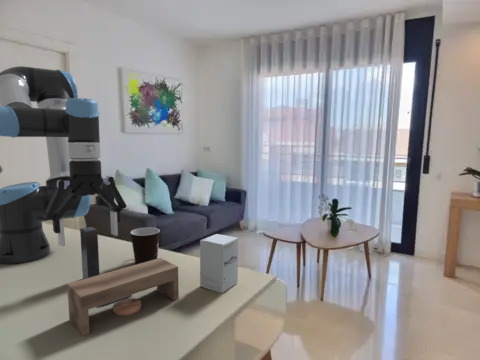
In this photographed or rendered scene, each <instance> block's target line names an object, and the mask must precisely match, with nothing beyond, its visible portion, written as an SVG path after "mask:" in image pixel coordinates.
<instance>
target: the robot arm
mask: <svg viewBox="0 0 480 360" xmlns="http://www.w3.org/2000/svg"><path fill="white" fill-rule="evenodd" d="M78 91H79V90H78V86H77V83H76V79H75V77H74V75H72V73H71V72H69V71H65V70H61V69H48V68H40V67H31V66H21V65H20V66H19V65H18V66H13V67H9V68H6V69H4V70H3V71H0V137H8V138H9V137H10V138H45V141H46V148H47V158H48V165H49V167H48V168H49V177H48V178H47V179H46V180H45V185H41V184H40V182H38V181H29V182H28V181H27V182H21V183H15V184H10V185H7V186H4V187H1V188H0V264H3V265H4V264H6V265H7V264H8V265H9V264H10V265H13V264H21V263H28V262H31V261H32V262H33V261H35V260H38V259H42V258H44V257H46V256H48V255H50V253H51V244H50V243H49V241H48V238H47V236H46V234H45V231H44V230H43V222H49V221H52V231H53V233H55V234H57V238H58V239H57V242H58V245H59V246H61V247H65V246H66V237H65V222H64V219H75V218H78V217H80V218H81V217H84V216H86V215H87V214H88V213H89V211H90V206H91V200H92V199H91V198H92V196H95V195H98V197H99V198H101V199H102V200H103V202H105V203H106V204H107V206H109V207H110V208H111V210H110V211H109V215H110V234H111V235H113V236H115V237H116V236H118V235H119V231H118V229H119V228H118V223H121V212H122V210H123V209H126V208H127V204H126V202H125V200H124V199H123V197H122V195H121V193H120V191H119V189H118V188H117V187H116V184H115V183H116V182H115V179H114V177H113V176H111V175H110V176H109V175H107V176H105V177H103V176H102V162H101V159H100V158H101V156H102V155H101V141H100V140H101V139H100V137H101V136H100V119H99V117H100V112H99V106H98V102H97V101H96V100H95V99H92V98H85V97H84V98H83V97H82V98H81V97H79V94H78V93H79V92H78ZM32 102H34V103H36V105H37V107H34V106H33V104H32ZM103 183H104V185H106V186H107V188H108V190H109V191H110V193H111V195H112V197H113V198H114V200H115V201H114V200H113V199H112V198H111V197H110V196H109V195H108V194H107V193H106V192H105V191H104V190H103V189H102V188H101V187H102V186H103Z"/></svg>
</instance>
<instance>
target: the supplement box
mask: <svg viewBox="0 0 480 360" xmlns="http://www.w3.org/2000/svg"><path fill="white" fill-rule="evenodd" d="M199 245H200V246H199V249H200V250H199V257H200V258H199V260H200V261H199V266H200V267H199V270H200V271H199V277H200V278H199V280H200V281H199V286H200V287H201V288H205V289H207V290H211V291H213V292H217V293H220V294H224V293H225V292H226V291H227V290H228V289H229V290H230V288H232V287H233V286H234V285H236V284H238V281H239V280H238V277H239V276H238V275H239V274H238V271H239V265H238V263H239V237H235V236H231V235H224V234H221V233H219V234H218V233H216V234H212V235H211V236H208V237H206V238H203V239H200V241H199Z"/></svg>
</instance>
